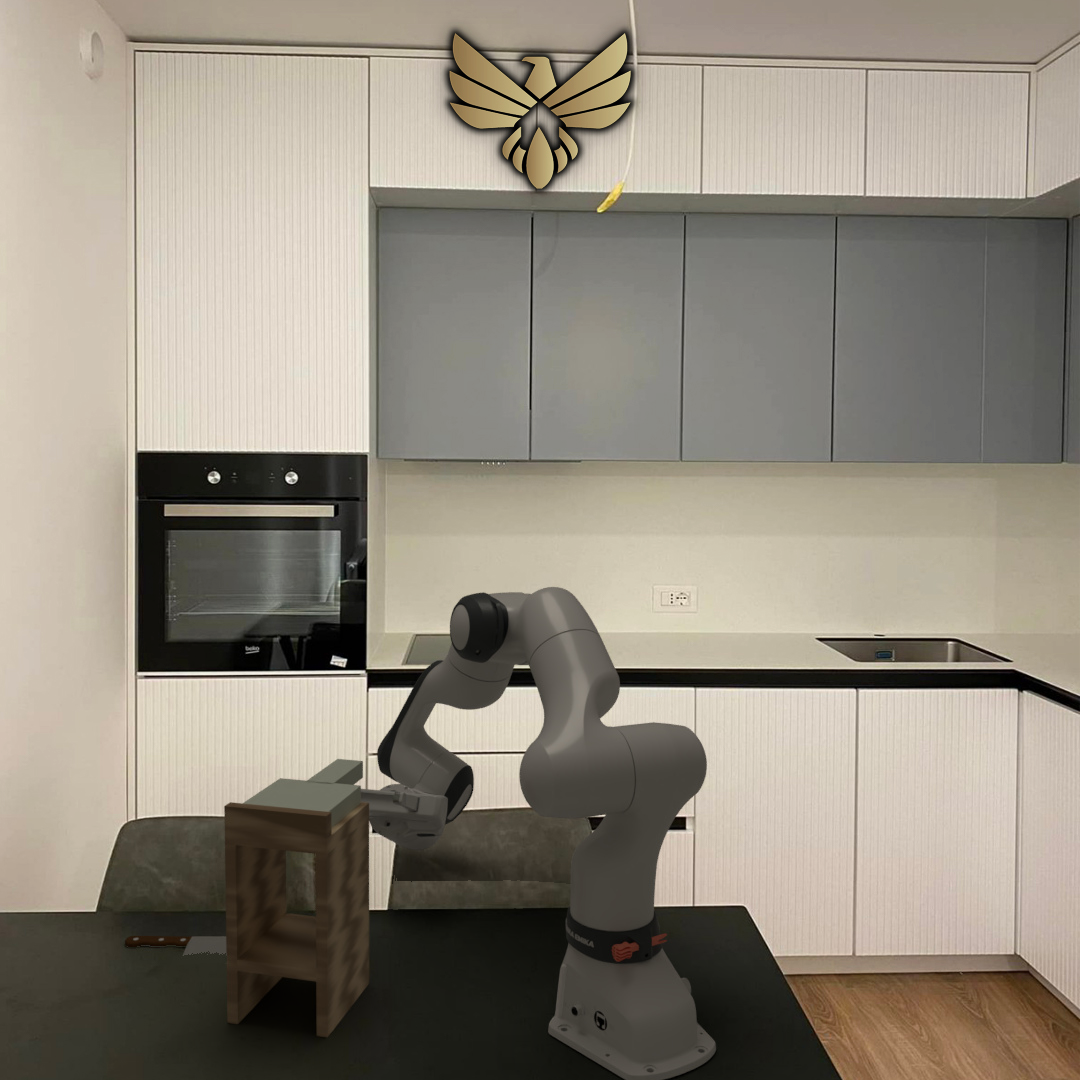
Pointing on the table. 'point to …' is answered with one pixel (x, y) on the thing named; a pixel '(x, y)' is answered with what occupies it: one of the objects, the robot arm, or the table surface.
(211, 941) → the kitchen cleaver
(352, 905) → the rack
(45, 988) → the table surface
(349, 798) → the grey paddle board
